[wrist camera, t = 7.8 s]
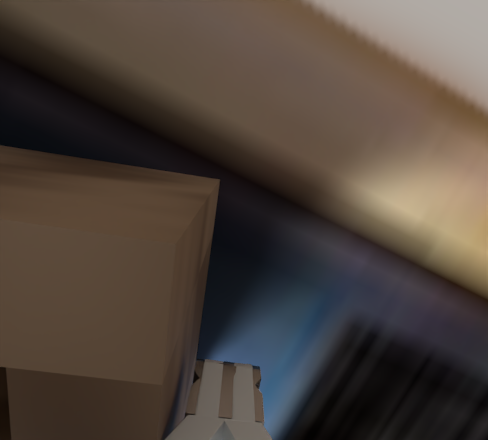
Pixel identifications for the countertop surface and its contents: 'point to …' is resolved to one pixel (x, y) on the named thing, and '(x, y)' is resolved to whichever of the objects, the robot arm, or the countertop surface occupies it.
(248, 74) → the countertop surface
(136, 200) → the block
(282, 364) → the countertop surface
